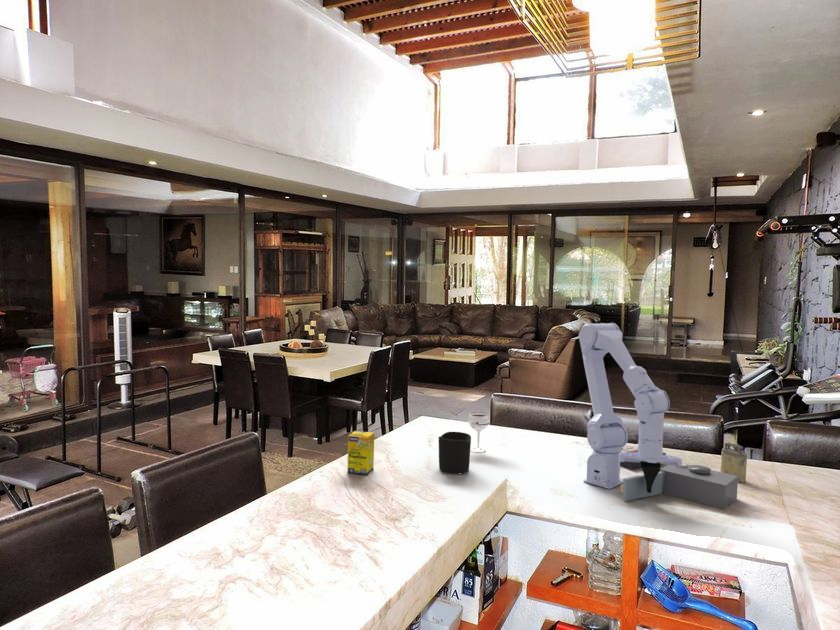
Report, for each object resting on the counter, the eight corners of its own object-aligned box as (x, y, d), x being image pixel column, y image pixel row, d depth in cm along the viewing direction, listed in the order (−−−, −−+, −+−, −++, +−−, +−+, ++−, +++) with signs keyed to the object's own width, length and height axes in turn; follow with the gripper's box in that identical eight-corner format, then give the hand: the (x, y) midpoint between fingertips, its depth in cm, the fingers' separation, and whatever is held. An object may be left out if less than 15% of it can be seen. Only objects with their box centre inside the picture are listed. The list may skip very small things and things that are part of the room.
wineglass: (464, 448, 186) (465, 412, 186) (483, 447, 188) (484, 411, 188) (472, 454, 180) (473, 417, 179) (492, 453, 182) (493, 416, 181)
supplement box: (347, 473, 160) (347, 435, 159) (354, 467, 165) (355, 430, 165) (367, 475, 158) (367, 437, 158) (373, 469, 164) (374, 431, 163)
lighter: (748, 482, 159) (750, 447, 159) (740, 484, 157) (742, 448, 157) (724, 474, 166) (726, 440, 165) (716, 476, 164) (718, 442, 163)
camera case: (724, 509, 139) (726, 481, 139) (658, 491, 150) (660, 465, 150) (736, 498, 146) (738, 472, 146) (673, 482, 157) (674, 457, 157)
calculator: (603, 449, 177) (638, 441, 184) (603, 462, 177) (638, 454, 184) (631, 459, 167) (666, 450, 174) (631, 473, 168) (666, 464, 174)
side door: (620, 498, 144) (620, 477, 144) (658, 490, 150) (659, 470, 150) (625, 501, 142) (626, 479, 142) (664, 492, 149) (665, 472, 148)
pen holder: (475, 473, 162) (476, 438, 162) (445, 476, 159) (446, 441, 158) (461, 463, 171) (462, 430, 170) (432, 466, 167) (433, 433, 167)
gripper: (622, 440, 140) (620, 494, 141) (685, 444, 137) (683, 500, 137) (618, 433, 147) (617, 484, 148) (679, 437, 144) (677, 490, 144)
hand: (648, 491), depth 143 cm, fingers closed
